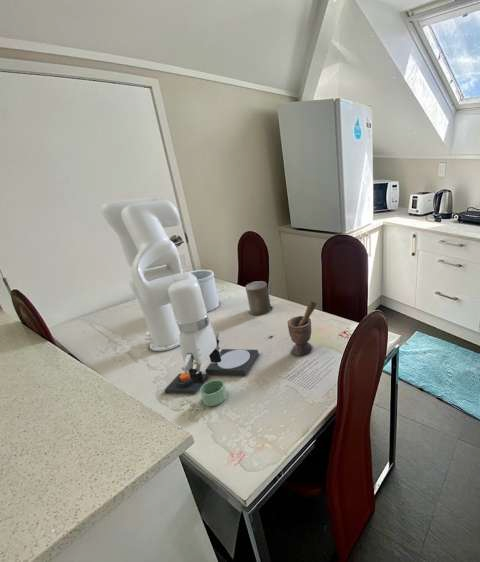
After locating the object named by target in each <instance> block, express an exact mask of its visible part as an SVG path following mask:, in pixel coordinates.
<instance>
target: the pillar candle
mask: <svg viewBox="0 0 480 562" xmlns="http://www.w3.org/2000/svg"><path fill="white" fill-rule="evenodd" d="M244 288H245V291H246V296H247V302H248V306H249V311H250V314H252V315H254V316H261V315H266V314H269V312H271V311H272V305H271V300H270V294H269V288H268V283H267V282H266V281H263V280H259V281H252V282H250V283H247V284H246V285H245V287H244Z"/></svg>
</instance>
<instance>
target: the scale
mask: <svg viewBox="0 0 480 562" xmlns="http://www.w3.org/2000/svg"><path fill="white" fill-rule="evenodd" d="M219 353H220V357H221V362H211V361H210V363H209V365H208V366H207V367H206V368H205V374H207V375H208V376H228V377H230V376H231V377H232V376H233V377H234V376H235V377H246V376H247V375H248V373H249V372H250V370H251V368H252V367H253V365H254V364H255V362H256V361H257V360H258V357H259V356H260V355H259V354H260V353H259V349H243V348H242V349H239V348H237V349H236V348H235V349H234V348H222V349H221V350H219Z"/></svg>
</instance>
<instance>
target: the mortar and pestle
mask: <svg viewBox="0 0 480 562" xmlns="http://www.w3.org/2000/svg"><path fill="white" fill-rule="evenodd" d="M316 307H317V301H315V300H312V299H311V300H310V301H309V302H308V304H307V307H306V309H305V313H304V314H303V315H298V316H297V315H296V316H294V317H291V318H290V319H288V320H287V329H288V335H289V337H290V340H291V341H292V342H293V343H294V345H293V346H292V354H294V355H295V356H305V355H307V354H309V353H310V352H311V351H312V350H313V347H312V345H311V343H310V342H309V341H310V340H311V336H312V320H311V318H310V317H311V315H312V314H313V312H314V311H315V309H316Z"/></svg>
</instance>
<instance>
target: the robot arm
mask: <svg viewBox="0 0 480 562" xmlns="http://www.w3.org/2000/svg"><path fill="white" fill-rule="evenodd" d="M100 213H101V215H102V217H103V219H104V220H105V222H106V223H107V225H109V226H110V228H111V229H112V230H113V231H114V232H115V233H116V235H117V236H118V239H119V241H120V246H121V247H122V250H123V254H124V257H125V260H126V262H127V264H128V266H129V268H130V277H129V279H128V285H129V287H130V289H131V291H132V293H133V294H134V296H135V298H136V300H137V302H138V304H139V307H140V309H141V312H142V315H143V318H144V320H145V324H146V325H147V328H148V331H147V332H145V335H144V340H145V341H148V340H149V341H150V343H149V347H150V348H149V349H150V350H152V351H153V352H164V351H169V350H172V349H174V348H177V347H180V352H181V356H182V359H183V363H182V366H181V370H182V371H183V373H188V374H190V375H191V378H192V382H193V383H196V384H202V385H204V384H205V382H204V378H203V375H202V374H203V372H202V371H201V366H202V364H203V363H204V362H205V361H206V360H207V359H208V358H209V360H210V363H211V362H221V357H220V346H219V344H220V339H219V336H220V333H219V332H215V331H214V328H213V326H212V324H211V322H210V320H209V315H208V312H207V311H206V308H205V304H204V300H203V296H202V293H201V289H200V286H199V283H198V280H197V278H196V277H195V276H194V275H193V274H191V273H189V272H190V271H184V269H183V266H182V261H181V258H180V253H179V250H178V248H177V246H176V243H174V242H173V241H172V240H171V239H170V238H169V236H168V234H167V232H166V231H165V229H166V228H172V227H173V228H174V227H176V226H178V225H180V222H181V215H180V214H179V211H178V209H177V207H176V206H175V204H174V203H173V202H172V201H170V200H169V199H167V198H165V197H161V196H150V197H139V198H127V199H118V200H113V201H108V202H105V203H103V204H102V205H101V207H100ZM194 365H195V368H194Z"/></svg>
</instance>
